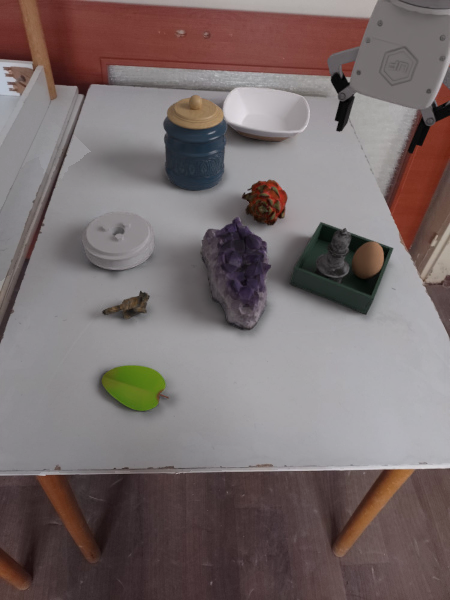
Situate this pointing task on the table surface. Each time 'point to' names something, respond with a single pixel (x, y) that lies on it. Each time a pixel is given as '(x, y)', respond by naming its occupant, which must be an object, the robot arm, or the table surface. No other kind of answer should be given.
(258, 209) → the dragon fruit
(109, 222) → the lid
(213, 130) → the canister
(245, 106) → the bowl
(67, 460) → the table surface
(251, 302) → the geode
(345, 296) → the box
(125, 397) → the decorative leaf
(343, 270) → the grey tall stone piece
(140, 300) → the cat figurine
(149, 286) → the table surface
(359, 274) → the egg
